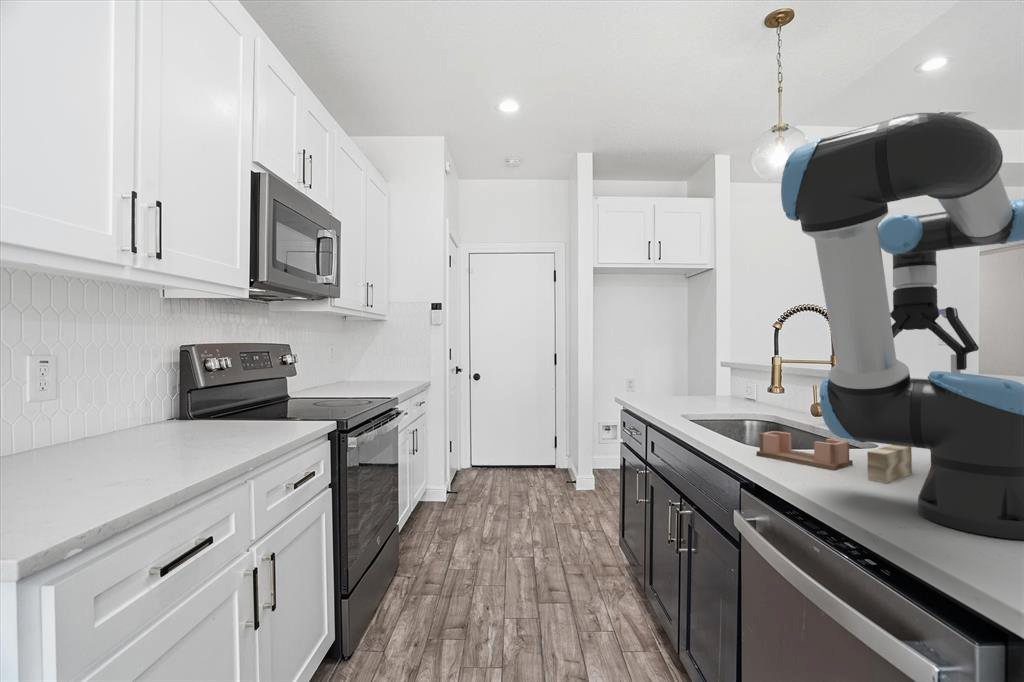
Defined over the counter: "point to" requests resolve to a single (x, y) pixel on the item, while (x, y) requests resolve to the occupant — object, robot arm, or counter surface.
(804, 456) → the board
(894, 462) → the birch slat
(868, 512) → the counter surface
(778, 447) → the brown slotted stand
